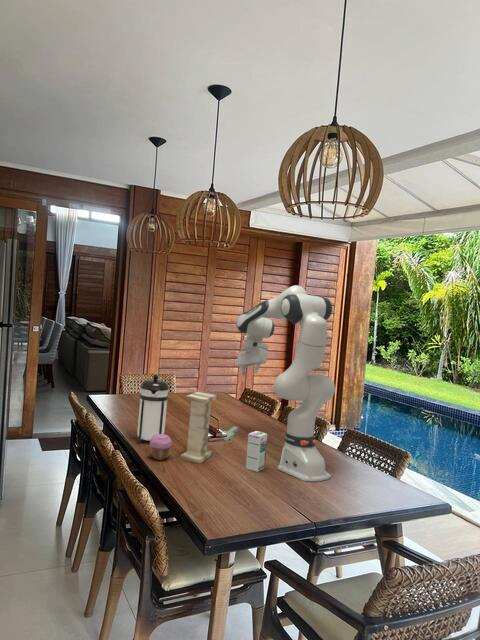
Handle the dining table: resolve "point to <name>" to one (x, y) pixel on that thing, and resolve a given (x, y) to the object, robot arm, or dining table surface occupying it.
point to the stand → (198, 427)
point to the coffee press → (152, 408)
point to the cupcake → (160, 446)
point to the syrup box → (256, 451)
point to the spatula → (230, 433)
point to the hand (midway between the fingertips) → (249, 374)
